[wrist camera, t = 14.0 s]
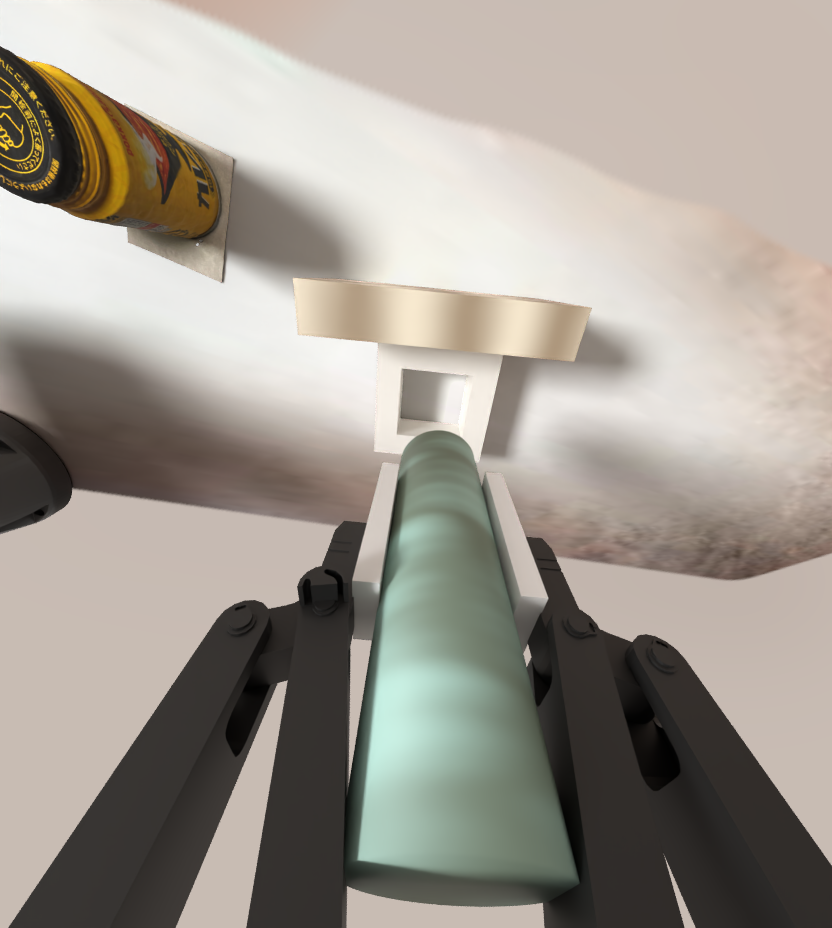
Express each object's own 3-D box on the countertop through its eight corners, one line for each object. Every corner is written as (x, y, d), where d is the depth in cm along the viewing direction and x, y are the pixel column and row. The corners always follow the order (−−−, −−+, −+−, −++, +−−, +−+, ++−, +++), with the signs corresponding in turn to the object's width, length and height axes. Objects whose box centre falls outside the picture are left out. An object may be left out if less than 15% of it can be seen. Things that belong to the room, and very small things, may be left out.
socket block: (379, 433, 34) (374, 451, 30) (384, 332, 29) (378, 339, 25) (473, 443, 34) (479, 462, 30) (494, 344, 29) (503, 353, 25)
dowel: (398, 490, 18) (338, 897, 6) (403, 426, 16) (327, 843, 4) (467, 496, 18) (539, 912, 6) (480, 434, 16) (622, 866, 4)
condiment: (234, 159, 23) (75, 59, 13) (222, 282, 27) (94, 284, 17) (126, 104, 22) (-147, -55, 11) (131, 242, 26) (-69, 217, 16)
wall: (338, 317, 28) (298, 334, 19) (337, 278, 27) (292, 277, 18) (529, 336, 28) (574, 361, 20) (539, 298, 27) (591, 307, 18)
